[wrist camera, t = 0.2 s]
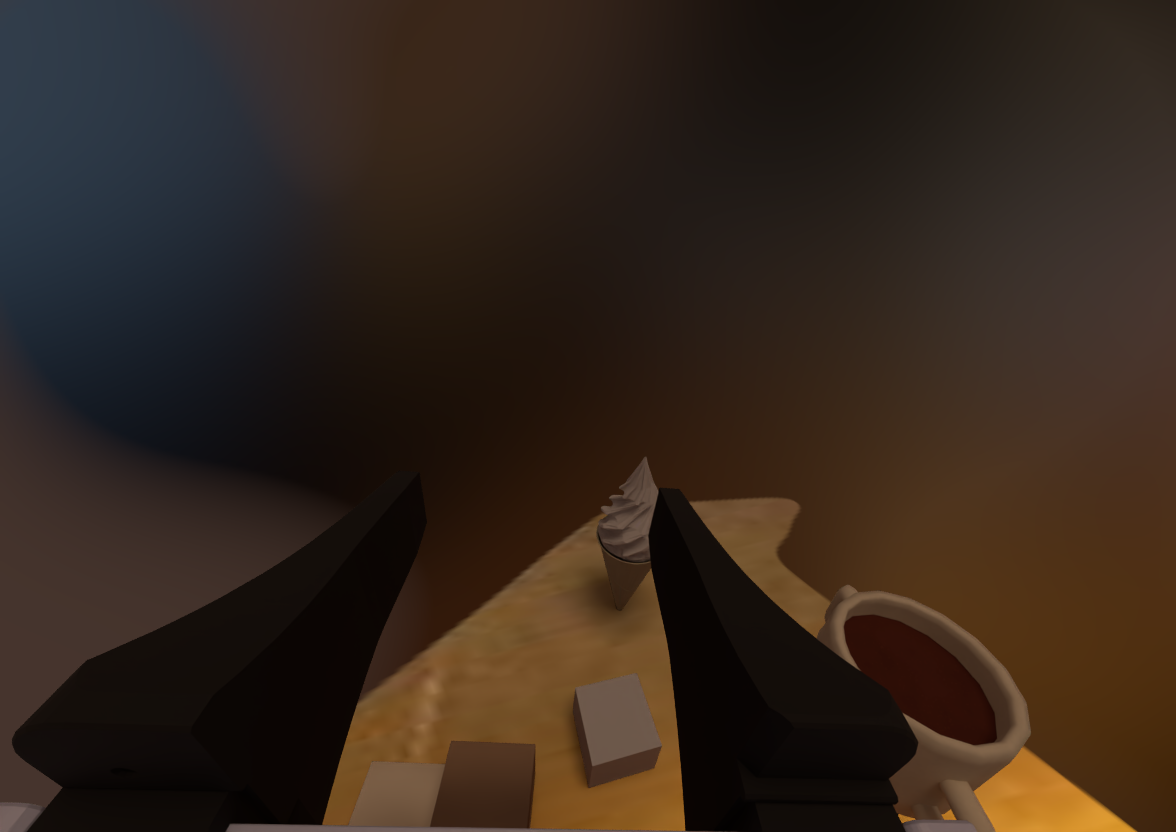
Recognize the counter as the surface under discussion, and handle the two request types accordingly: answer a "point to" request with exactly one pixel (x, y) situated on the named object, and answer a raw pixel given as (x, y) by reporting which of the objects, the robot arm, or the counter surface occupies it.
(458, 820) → the walnut bar
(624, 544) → the ice cream cone
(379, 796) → the birch board
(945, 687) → the character mug
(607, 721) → the grey block
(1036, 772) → the counter surface
